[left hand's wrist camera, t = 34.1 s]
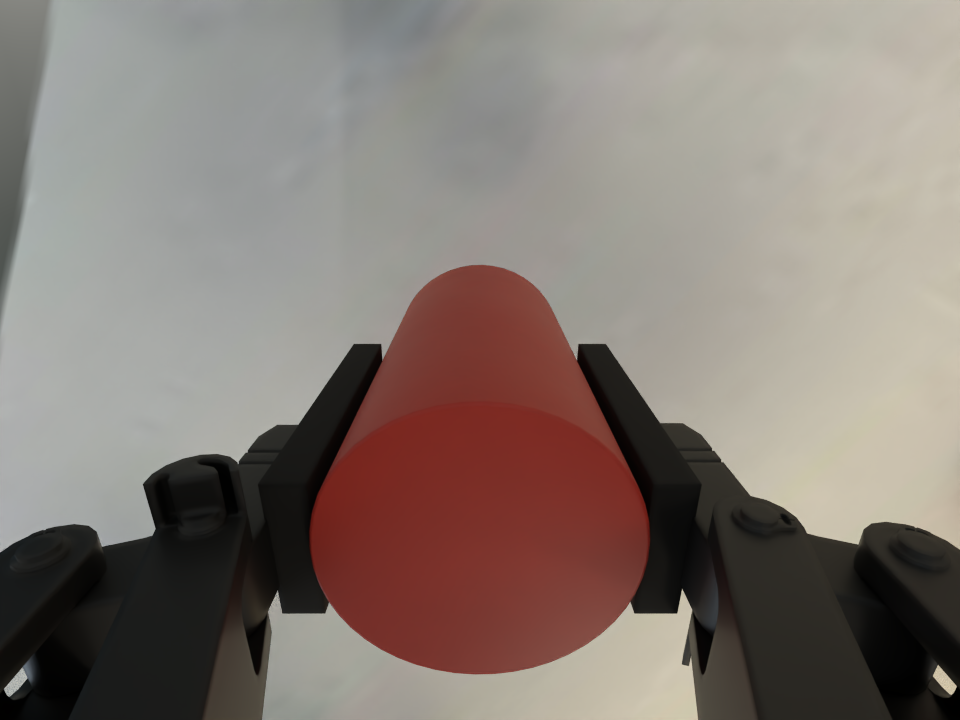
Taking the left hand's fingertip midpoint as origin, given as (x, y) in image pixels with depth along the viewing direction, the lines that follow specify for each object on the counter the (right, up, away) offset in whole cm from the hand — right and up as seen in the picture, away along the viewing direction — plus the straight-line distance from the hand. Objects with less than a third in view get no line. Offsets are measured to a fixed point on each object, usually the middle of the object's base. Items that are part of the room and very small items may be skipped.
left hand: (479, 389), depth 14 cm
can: (0, +1, +3) cm, 4 cm away
